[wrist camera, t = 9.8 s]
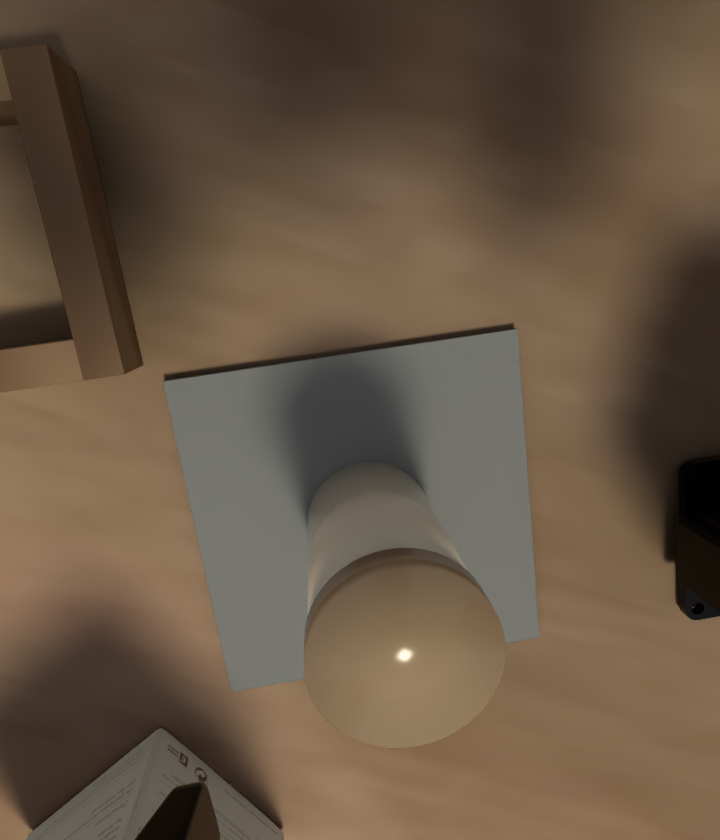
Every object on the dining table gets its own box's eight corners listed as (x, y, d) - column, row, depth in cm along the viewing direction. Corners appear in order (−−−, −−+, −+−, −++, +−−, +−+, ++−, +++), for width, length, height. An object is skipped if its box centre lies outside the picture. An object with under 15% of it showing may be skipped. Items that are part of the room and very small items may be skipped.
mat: (514, 328, 20) (517, 329, 20) (536, 632, 23) (539, 637, 22) (165, 380, 19) (163, 381, 19) (232, 686, 22) (231, 691, 22)
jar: (424, 449, 20) (497, 551, 13) (438, 566, 21) (513, 727, 14) (294, 470, 20) (287, 588, 12) (315, 588, 21) (320, 764, 13)
